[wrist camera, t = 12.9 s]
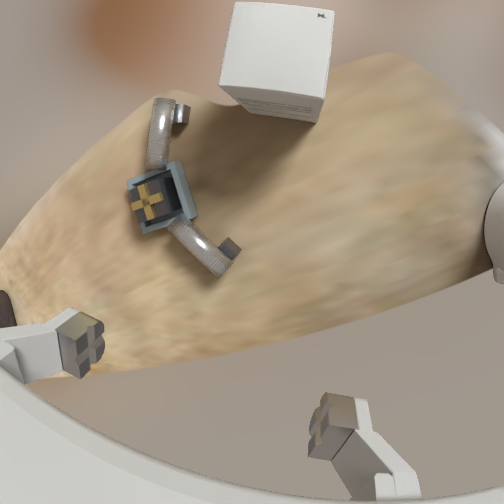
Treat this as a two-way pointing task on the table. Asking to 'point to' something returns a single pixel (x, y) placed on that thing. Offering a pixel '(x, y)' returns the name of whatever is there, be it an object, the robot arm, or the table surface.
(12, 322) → the perforated stone tool
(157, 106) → the shaft
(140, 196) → the block
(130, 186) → the housing
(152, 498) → the robot arm
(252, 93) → the supplement box
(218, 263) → the shaft
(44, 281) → the table surface
